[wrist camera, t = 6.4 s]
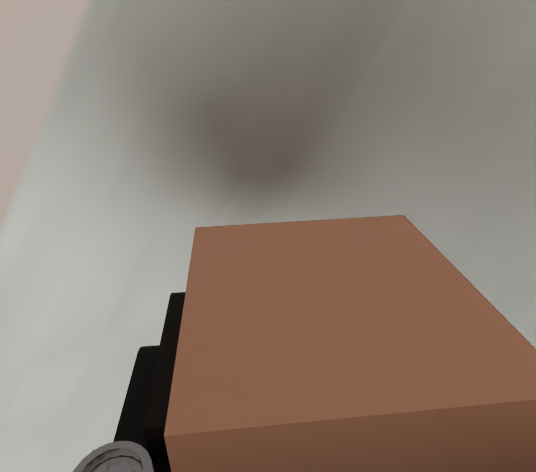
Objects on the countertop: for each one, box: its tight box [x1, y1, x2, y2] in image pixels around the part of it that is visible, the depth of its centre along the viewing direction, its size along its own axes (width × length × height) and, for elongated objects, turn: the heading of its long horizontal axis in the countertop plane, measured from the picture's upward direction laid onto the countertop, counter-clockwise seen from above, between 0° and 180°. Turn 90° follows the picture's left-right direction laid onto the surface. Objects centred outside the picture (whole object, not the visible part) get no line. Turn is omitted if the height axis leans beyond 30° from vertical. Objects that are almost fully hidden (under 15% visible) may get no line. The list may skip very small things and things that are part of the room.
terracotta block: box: [164, 215, 536, 472], centre depth 9 cm, size 6×6×6 cm
